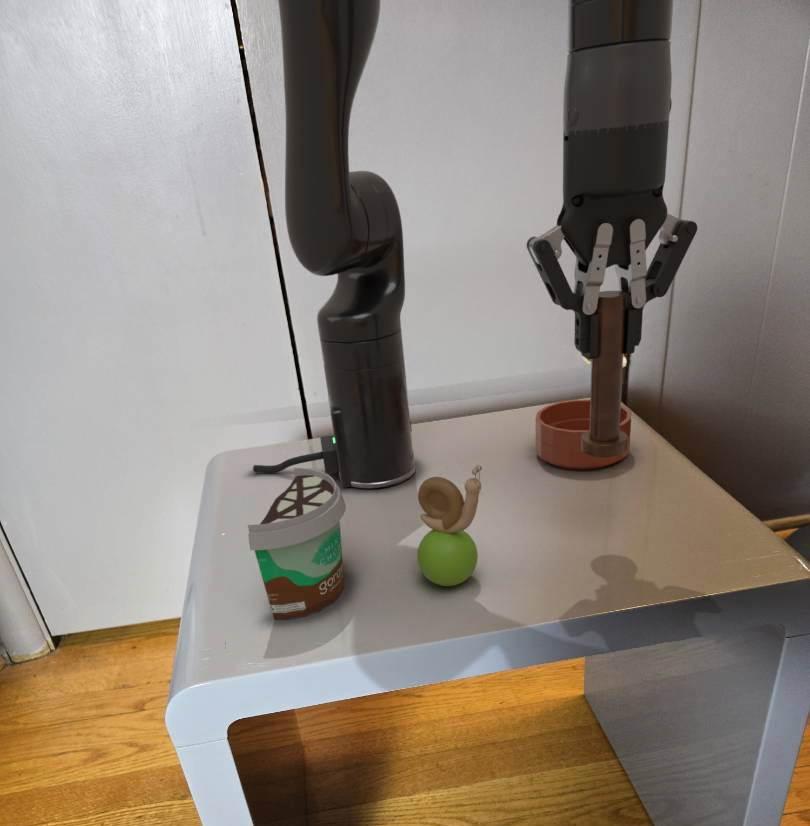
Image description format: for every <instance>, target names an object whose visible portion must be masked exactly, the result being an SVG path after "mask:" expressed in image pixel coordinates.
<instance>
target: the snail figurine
mask: <svg viewBox="0 0 810 826" xmlns="http://www.w3.org/2000/svg"><path fill="white" fill-rule="evenodd" d="M482 469H483V467H482V465H480V464H477V465H475V467H474V468H472V469H471V474H472V475H474V477H469V478H468V479H466V481H465V483H464V490H465V497H464V496H463V494H462V492H461V490H460V489H459V488H458V486H457V485H456V484H455V483H454V482H452V481H451V480H449V479H447V478H446V477H442V476H432V477H429V478H427V479H425V480H424V481H422V483H421V484H420V486H419V487H418V492H417V499H418V503H419V505H420V507H421V509H422V511H423V512H424V513H420V514H419V517H420V519H421V521H422V522H423V523H424V525H426V526H427V527H428V528H429V529H430V531H429V532H427V533H426V534H425V535H424V536H423V538H422V539H421V541H420V542H419V545H418V547H417V552H416V554H417V555H416V558H417V564H418V567H419V569H420V572H421V573H422V574H423V576H424V577H425V578H426V579H427V580H429V581H430V582H432V583H433V584H436V585H438V586H442V587H453V586H457V585H460V584H462V583H463V582H465V581H466V580H468V579H469V578H470V577H471V575H472V574H473V573H474V571H475V569H476V567H477V564H478V557H479V555H478V549H477V545H476V543H475V541H474V539H473V538H472V537H471V535H470V534H469V533H467V532H466V531H465V530H467V529H468V528H469V527H470V526H471V524H472V523H473V521H474V519H475V516H476V514H477V510H478V504H479V495H480V492H481V490H482V483H481V481H480V477H481V476H480V475H481V471H482ZM477 474H478V478H477Z"/></svg>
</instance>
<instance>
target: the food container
mask: <svg viewBox="0 0 810 826" xmlns="http://www.w3.org/2000/svg"><path fill="white" fill-rule="evenodd" d="M293 475H294V479H293V480H292V482H291V483H290V485H289V486H288V487H287V488H286V489H285V490H284V491H283V492H282V493H280V494H279V495H278V496H277V497H276V498H275V499H274V501H273V502H272V503H271V506H270V508H269V509H268V511H267V513H266V515H265V516H264V518H263V519H262V520H261V522H260V523H259V524H247V528H248V533H247V537H248V542H249V543H248V545H249V550H250V551H254V554H255V557H256V561H257V563H258V568H259V571H260V575H261V578H262V582H263V585H264V589H265V592H266V596H267V599H268V603H269V606H270V610H271V614H272V617H273V620H291V619H297V618H303V617H307V616H309V615H312V614H316V613H319V612H322V611H323V610H324V609H325V608H327V607H330V606H331V605H332V604H334V603H335V602H336V601H337V600H338V599H339V598H340V597H341V596H342V594H343V591H344V588H345V575H344V562H343V549H342V536H341V535H342V534H341V520H342V518H343V517H344V515H345V513H346V509H347V508H346V507H347V506H346V505H347V504H346V502H345V499H344V496H343V494H342V492H341V488H340V487H339V485H338V483H336V481H335V480H334V478H333V477H331V475H329V474H326V473H325V471H324V472H323V471H320V470H317V469H312V468H308V467H307V468H305V467H293Z"/></svg>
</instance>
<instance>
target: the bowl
mask: <svg viewBox="0 0 810 826" xmlns="http://www.w3.org/2000/svg"><path fill="white" fill-rule="evenodd" d="M589 430H590V399H572V400H564V401H557V402H555V403H551V404H548V405H545V406H544V407H542V408H541V409H539V410H538V411H537V412H536V415H535V453H536V455H538V457H539V458H540V459H541V460H543V461H546V462H547V463H549V464H551V465H553V466H555V467H558V468H564V469H568V470H594V469H601V468H606V467H609V466H611V465H613V464H615V463H618V462H619V461H622V460H623V459H624V458H626V457H627V456H628V455H629V454H630V447H631V444H630V443H631V431H632V411H631V410H630V409H628V408H627V407H626V406H624V405H623V404H621V412H620V431H622V432H624V433H625V434H626V435H627V450H626V451H625V452H624V453H623V454H621V455H618V456H614V457H594V456H590V455H587V454H585V453H583V452H582V450H581V437H582V435H583V434H584V433H585V432H588V431H589Z"/></svg>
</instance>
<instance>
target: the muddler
mask: <svg viewBox="0 0 810 826" xmlns="http://www.w3.org/2000/svg"><path fill="white" fill-rule="evenodd" d="M625 306H626V293H625V292H622V291H619V290H603V291H599V297H598V304H597V309H596V311H595V313H597V314H599V334H598V356H597V358H596V359H590V396H589V398H590V399H589V400H590V430H589V431H588V432H585V433H584V434H583V435H582V437H581V450H582V452H583V453H585V454H587V455H590V456H594V457H614V456H618V455H621V454H623V453H624V452H625V451H626V450H627V435H626V434H625V433H624V432H622V431H620V412H621V405H622V390H623V389H622V388H623V369H624V368H623V367H624V354H623V348H624V327H625Z"/></svg>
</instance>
